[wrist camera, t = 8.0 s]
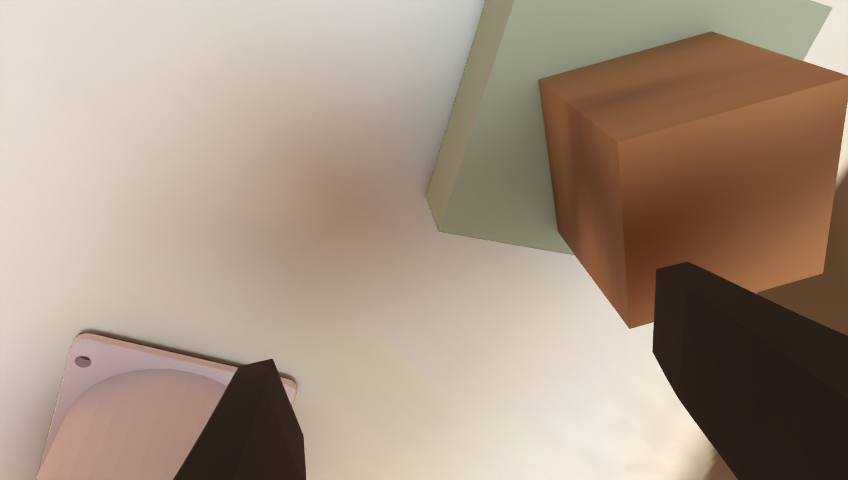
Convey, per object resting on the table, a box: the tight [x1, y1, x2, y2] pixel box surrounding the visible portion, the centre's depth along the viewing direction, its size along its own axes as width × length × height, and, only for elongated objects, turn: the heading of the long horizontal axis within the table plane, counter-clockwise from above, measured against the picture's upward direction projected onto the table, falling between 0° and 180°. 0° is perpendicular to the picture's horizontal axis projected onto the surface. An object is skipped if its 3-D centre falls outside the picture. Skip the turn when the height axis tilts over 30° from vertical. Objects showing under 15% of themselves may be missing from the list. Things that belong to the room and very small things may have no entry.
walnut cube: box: [538, 31, 848, 329], centre depth 16 cm, size 5×5×5 cm
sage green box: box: [426, 0, 832, 255], centre depth 19 cm, size 9×9×3 cm
